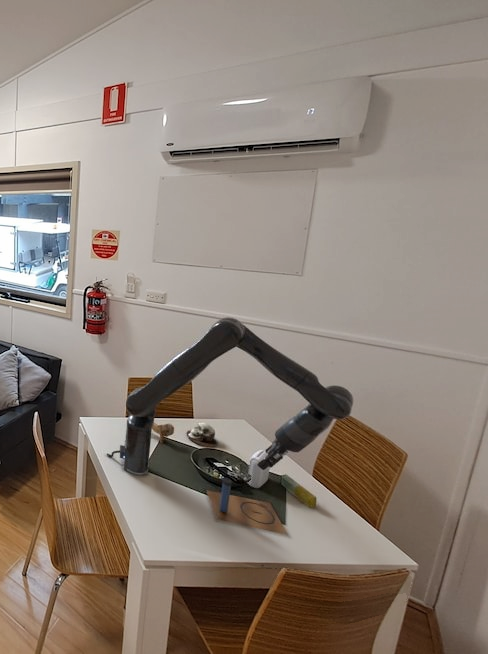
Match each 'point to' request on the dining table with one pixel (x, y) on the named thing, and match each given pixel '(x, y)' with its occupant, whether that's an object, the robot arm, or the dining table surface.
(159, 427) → the lion figurine
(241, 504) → the face circle
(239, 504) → the sketch board
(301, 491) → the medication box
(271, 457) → the robot arm
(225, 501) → the marker
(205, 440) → the skull
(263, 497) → the dining table surface
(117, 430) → the dining table surface
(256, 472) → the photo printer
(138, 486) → the dining table surface
